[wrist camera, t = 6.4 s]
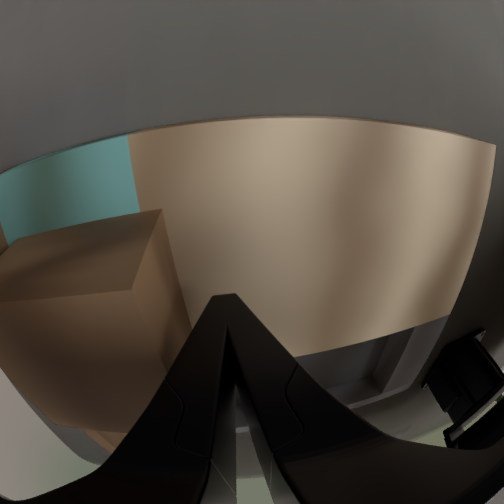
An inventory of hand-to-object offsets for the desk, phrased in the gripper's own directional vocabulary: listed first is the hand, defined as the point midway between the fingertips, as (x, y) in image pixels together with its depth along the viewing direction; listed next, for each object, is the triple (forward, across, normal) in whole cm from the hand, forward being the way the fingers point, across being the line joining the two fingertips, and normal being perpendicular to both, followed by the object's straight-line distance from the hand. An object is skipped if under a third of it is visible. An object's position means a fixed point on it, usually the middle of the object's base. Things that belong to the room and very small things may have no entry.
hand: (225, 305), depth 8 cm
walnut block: (+2, +4, 0) cm, 5 cm away
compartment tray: (+4, -2, +4) cm, 6 cm away
